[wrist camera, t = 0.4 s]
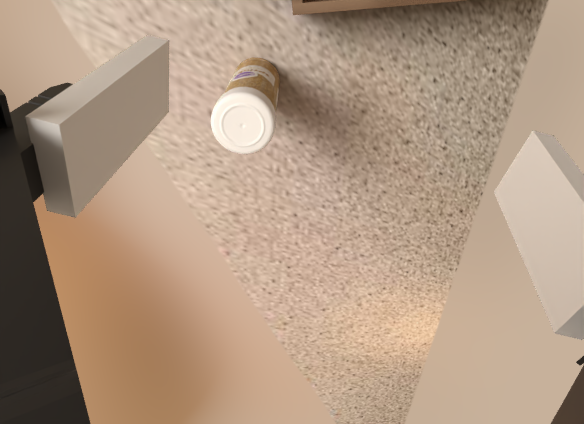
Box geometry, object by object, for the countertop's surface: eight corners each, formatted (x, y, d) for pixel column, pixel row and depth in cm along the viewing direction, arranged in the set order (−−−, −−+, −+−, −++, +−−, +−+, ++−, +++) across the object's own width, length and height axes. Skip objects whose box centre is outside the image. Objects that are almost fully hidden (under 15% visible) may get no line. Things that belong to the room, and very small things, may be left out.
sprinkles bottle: (265, 47, 39) (254, 80, 27) (288, 91, 41) (287, 138, 29) (224, 71, 40) (196, 112, 28) (248, 112, 42) (232, 166, 30)
